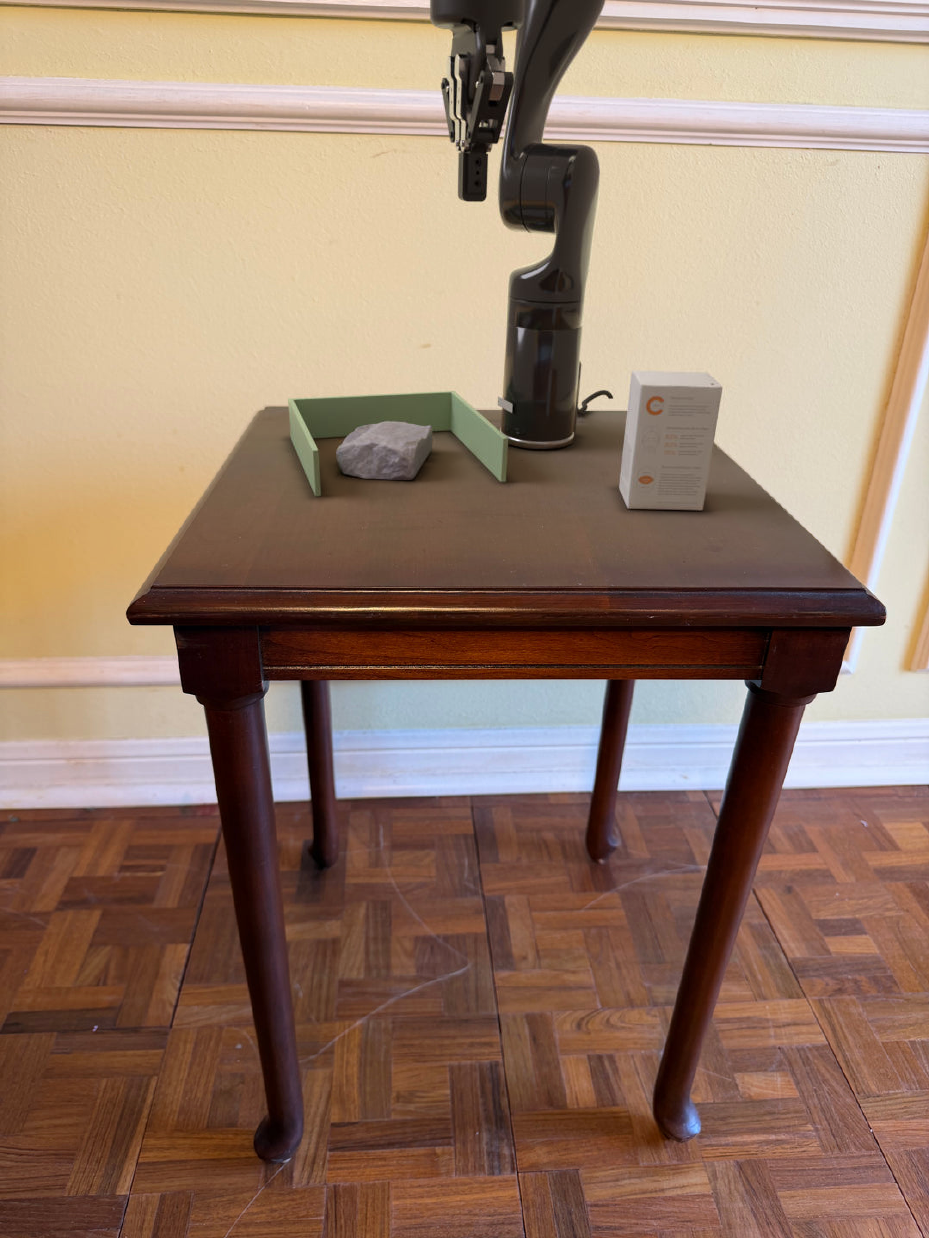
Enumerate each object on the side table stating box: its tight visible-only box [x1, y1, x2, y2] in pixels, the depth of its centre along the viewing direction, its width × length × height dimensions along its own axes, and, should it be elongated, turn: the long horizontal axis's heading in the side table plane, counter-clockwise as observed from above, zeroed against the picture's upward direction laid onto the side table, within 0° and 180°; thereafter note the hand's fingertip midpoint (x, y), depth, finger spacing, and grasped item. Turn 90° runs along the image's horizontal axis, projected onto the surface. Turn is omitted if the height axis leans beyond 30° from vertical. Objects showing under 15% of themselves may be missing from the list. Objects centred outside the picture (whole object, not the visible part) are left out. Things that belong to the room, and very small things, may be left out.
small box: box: [618, 370, 723, 511], centre depth 91 cm, size 8×6×13 cm
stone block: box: [335, 421, 434, 481], centre depth 102 cm, size 12×5×10 cm
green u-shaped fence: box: [287, 390, 509, 497], centre depth 103 cm, size 21×21×5 cm
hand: (471, 200), depth 77 cm, fingers closed
